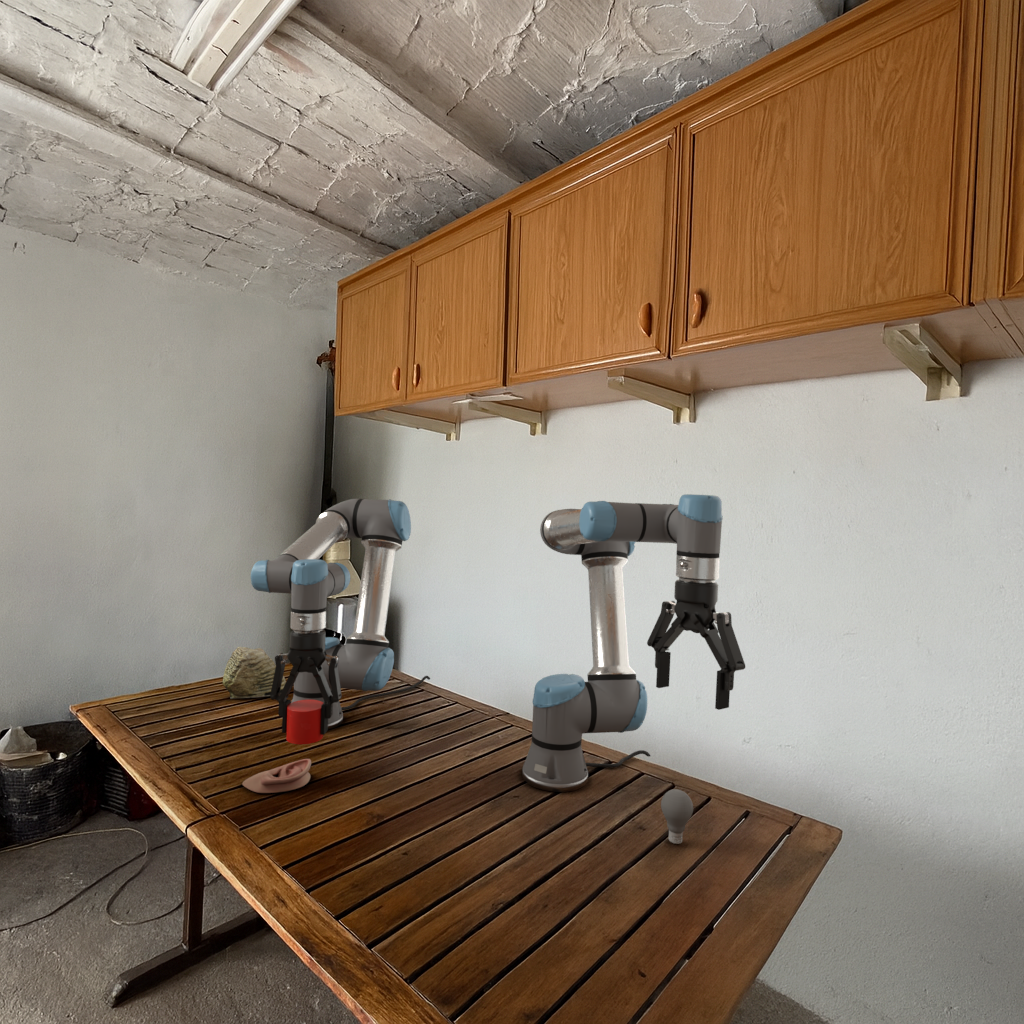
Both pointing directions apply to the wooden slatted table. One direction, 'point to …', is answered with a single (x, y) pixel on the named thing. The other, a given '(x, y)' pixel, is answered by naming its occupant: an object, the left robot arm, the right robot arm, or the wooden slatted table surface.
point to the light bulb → (676, 813)
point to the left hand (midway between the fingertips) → (305, 731)
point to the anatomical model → (280, 778)
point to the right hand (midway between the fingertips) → (690, 697)
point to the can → (304, 722)
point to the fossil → (250, 673)
